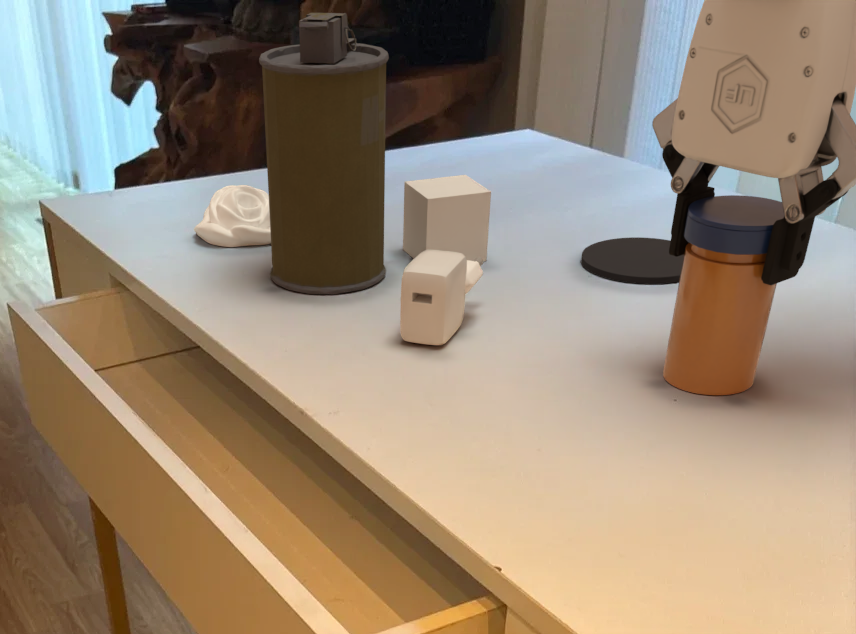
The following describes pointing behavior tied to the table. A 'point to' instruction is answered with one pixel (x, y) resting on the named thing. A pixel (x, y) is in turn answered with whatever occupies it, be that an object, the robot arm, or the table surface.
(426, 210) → the beige cube
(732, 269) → the jar
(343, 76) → the canister
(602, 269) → the coaster
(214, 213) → the rose
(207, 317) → the table surface
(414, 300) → the power adapter
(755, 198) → the jar lid
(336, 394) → the table surface
